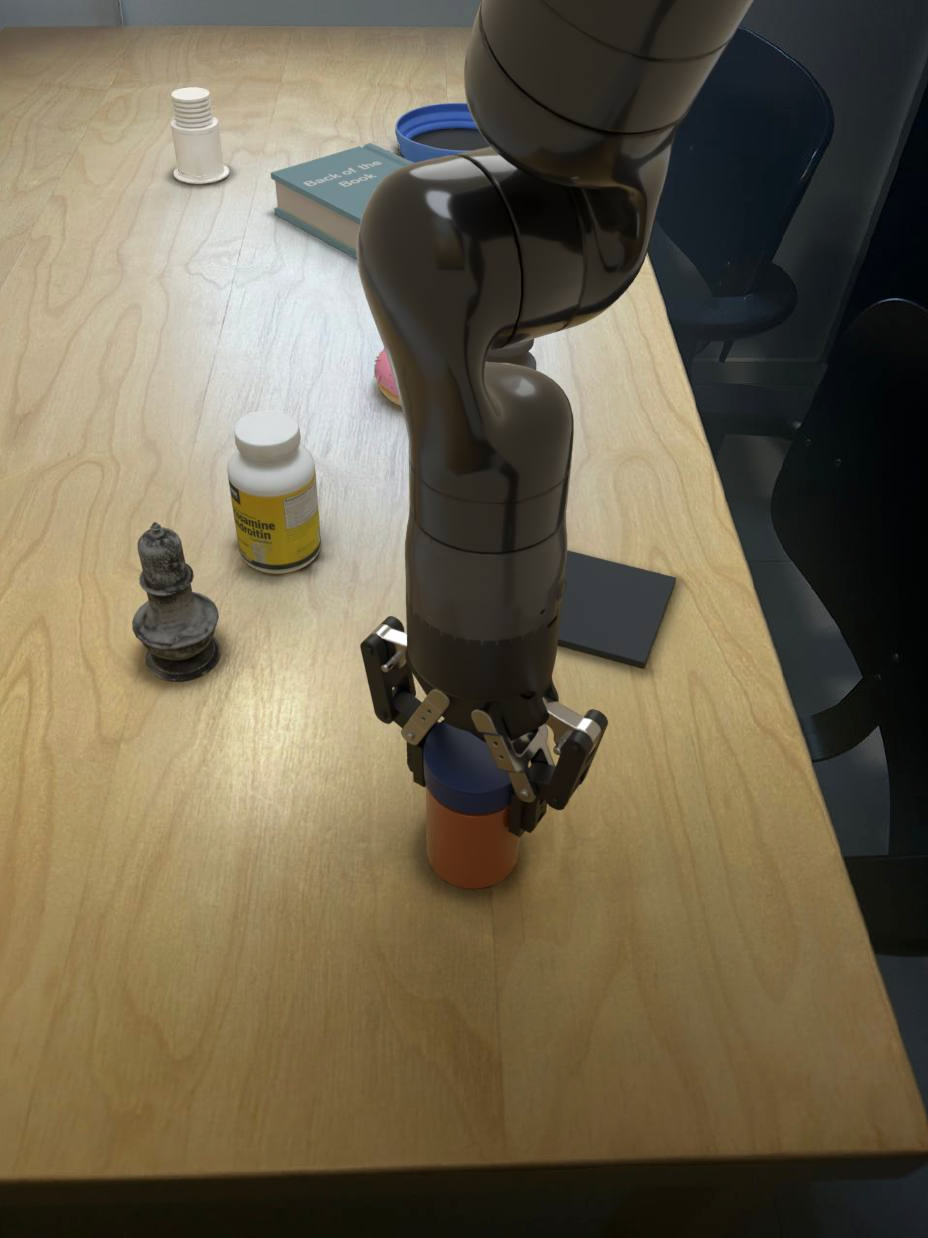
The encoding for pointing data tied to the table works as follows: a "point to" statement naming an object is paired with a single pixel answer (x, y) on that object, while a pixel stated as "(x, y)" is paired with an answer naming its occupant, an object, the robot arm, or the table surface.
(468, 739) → the jar lid
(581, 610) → the coaster
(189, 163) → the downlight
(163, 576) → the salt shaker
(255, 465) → the pill bottle
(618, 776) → the table surface
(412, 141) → the bowl
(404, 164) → the book
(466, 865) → the jar
